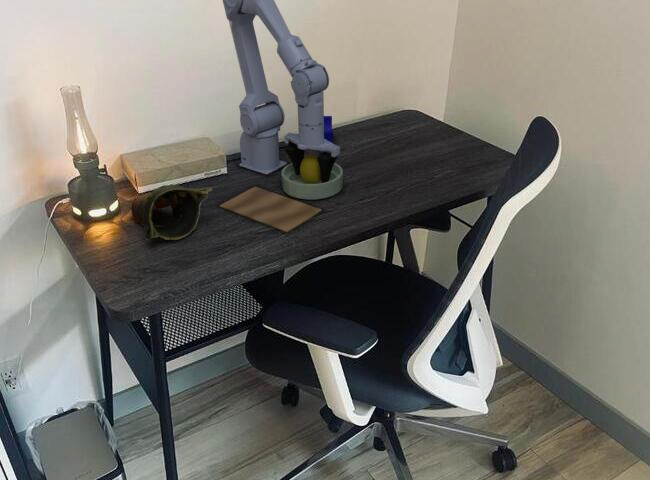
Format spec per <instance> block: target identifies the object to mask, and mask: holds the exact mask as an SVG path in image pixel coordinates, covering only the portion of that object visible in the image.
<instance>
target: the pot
mask: <svg viewBox="0 0 650 480" xmlns="http://www.w3.org/2000/svg"><path fill="white" fill-rule="evenodd" d="M212 190H213V187H212V186H206V187H201V188H192V187H186V186H182V185H179V184H174V183H173V184H172V183H171V184H168V185H165V184H164V185H161V186H159V187H158V188H156V189H154V190H153V191H152V192H149V193H145V194H142V195H140V196H138V197H136V198H134V200H133V201H132V203H131V208H130V209H131V215H132V218H134V219H135V221H137V222H138V223H139V224H141V226H143V229H144V236H145V240H148V241H149V240H151V239H153V238H154V239H155V238H159V237H160V238H161V239H164V240H168V241H170V240H173V241H175V240H180V239H183V238H185V237H186V236H188V235H190V234H191V233H192V231H194V230H195V228H196V227H197V225H198V222H199V218H200V214H201V212H200V211H201V204H202V203H203V201H205V200H206V199H207V198H208V197H209V194H208V193H209V192H212ZM167 207H170V208H171V222H169V223H168V224H167V225H166V226H162V225H157V224H156V221H155V218H154V215H153V209H154V208H155V210H156V212H158V211H159V209H160V210H161V209H165V208H167Z"/></svg>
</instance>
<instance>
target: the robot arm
mask: <svg viewBox="0 0 650 480" xmlns="http://www.w3.org/2000/svg"><path fill="white" fill-rule="evenodd" d="M222 4H223V9H224V12H225V17H226V19H227V20H228V23H229V29H230V33H231V36H232V41H233V44H234V45H233V46H234V48H235V49H234V50H235V54H236V57H237V62H238V65H239V70H240V74H241V78H242V82H243V88H244V90H245V96H244V98H243V99H242V101H241V102H240V104H239V106H238V108H239V120H240V121H239V123H240V126H241V129H242V131H243V132H242V133H241V135H240V138H239V147H240V148H239V150H240V160H241V161H240V163H239V167H241V168H244V169H248V170H251V171H252V172H256V173H259V174H263V175H267V176H268V175H270V174H272V173H274V172H275V171H278V170H279V169H281V168H284V167H285V166H287V165H288V162H286V161H284V160H281V159H280V145H279V143H280V142H279V141H280V140H279V132H281V127H282V126H283V125H284V123H285V119H286V118H285V117H286V116H285V111H284V108H283V107H282V105H281V103H280V100H279V96H278V95H277V94H275V93H274V92H273V91H270V90H269V88H268V82H267V78H266V74H265V70H264V66H263V65H264V64H263V61H262V56H261V52H260V47H259V43H258V39H257V35H256V30H255V26H254V20H255V19H256V16H257V17H258V18H259V19H260V21H261V23H262V24H263V25H264V26H265V27H266V29H267V31H268V32H269V34H270V35H271V36H272V37H273V39H274V40H275V42H276V43H277V47H276V53H277V55H278V56H279V58H280V60H281V61H282V63H283V65H284V66H285V68H286V71H288V73H289V75H290V76H291V78H292V79H291V81H290V86H291V89H292V92H293V93H294V101H295V103H296V104H297V125H298V126H297V127H298V128H297V129H298V133H294V132H288V133H286V134H284V135H283V137H284V144H287V146H285V147H284V152H286V154H287V156H288V157H289V159H290V161H291V162H290V163H292V164H293V167H294V170H295V173H296V175H300V166H301V162H302V160H303V159H304V158H305V154H306V153H305V152H306V150H313V151H316V152H320V153H321V152H323V154H320V155H317V156H318V157H317V160H318V163H319V166H320V174H321V183H325V182H328V181H329V178H330V174H331V171H332V168H333V165H334V163H336V161H337V159H339V158H338V157H339V156H340V154H341V148H340V145H337V144H334V142H333V143H331V142H329V141H327V140H326V139H324V116H325V104H324V101H325V98H324V96H325V95H324V91H326V90H327V89H328V88H329V85H330V75H329V73H328V71H327V68H326V66H325V65H323V64H321V63H318V61H317V60H316V59H313V57H312V55H311V54H310V53H309V51H308V49H307V48H306V46H305V45H304V43H303V41H302V39H301V38H300V36H297V35H293V34H292V33H291V31H290V29H289V27H288V25H287V23H286V21H285V19H284V17H283V15H282V13H281V11H280V9H279V7H278V6H277V4H276V2H275V0H222Z"/></svg>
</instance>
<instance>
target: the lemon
mask: <svg viewBox="0 0 650 480" xmlns="http://www.w3.org/2000/svg"><path fill="white" fill-rule="evenodd" d="M318 156H319V155H316V154H314V153H310V154H307V155H306V156H304V159H303V160H302V162H301V166H300V174H301V177H302V179H303V180H304V182H306V183H307V184H317V183H319V182H320V181H321V174H320V166H319V163H318V160H317V157H318Z"/></svg>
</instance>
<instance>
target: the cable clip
mask: <svg viewBox="0 0 650 480" xmlns="http://www.w3.org/2000/svg"><path fill="white" fill-rule="evenodd" d="M324 139H326V140H327V141H329V142H331V143H333V144H334V129H333V115H324ZM320 153H321V154H320V155H322V154H323V152H320Z"/></svg>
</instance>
